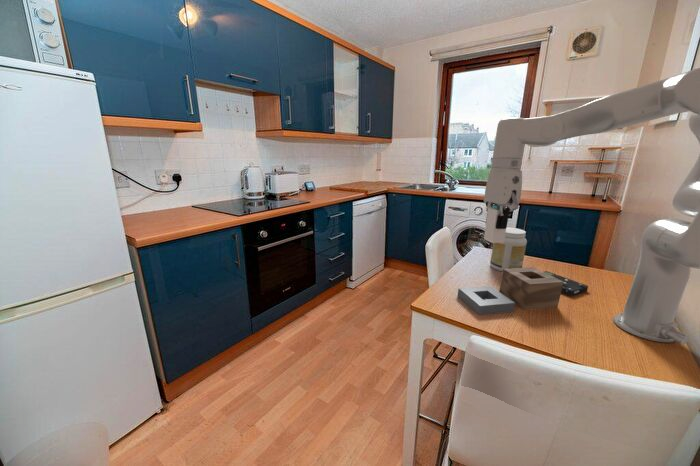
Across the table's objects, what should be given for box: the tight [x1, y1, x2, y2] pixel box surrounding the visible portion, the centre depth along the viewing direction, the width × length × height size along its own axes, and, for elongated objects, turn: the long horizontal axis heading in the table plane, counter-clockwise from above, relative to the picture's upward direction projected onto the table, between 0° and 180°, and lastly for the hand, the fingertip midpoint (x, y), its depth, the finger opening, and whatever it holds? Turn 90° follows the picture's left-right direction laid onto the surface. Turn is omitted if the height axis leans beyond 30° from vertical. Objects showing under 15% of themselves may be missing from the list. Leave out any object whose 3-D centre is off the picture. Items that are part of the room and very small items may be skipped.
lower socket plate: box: [457, 285, 516, 316], centre depth 93 cm, size 12×12×3 cm
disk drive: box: [544, 270, 589, 298], centre depth 107 cm, size 10×3×15 cm
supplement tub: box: [489, 226, 528, 272], centre depth 121 cm, size 12×12×17 cm
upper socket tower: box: [498, 266, 563, 311], centre depth 95 cm, size 12×12×9 cm
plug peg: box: [483, 204, 506, 244], centre depth 86 cm, size 4×4×11 cm
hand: (495, 226), depth 86 cm, fingers closed on plug peg, 4 cm apart
